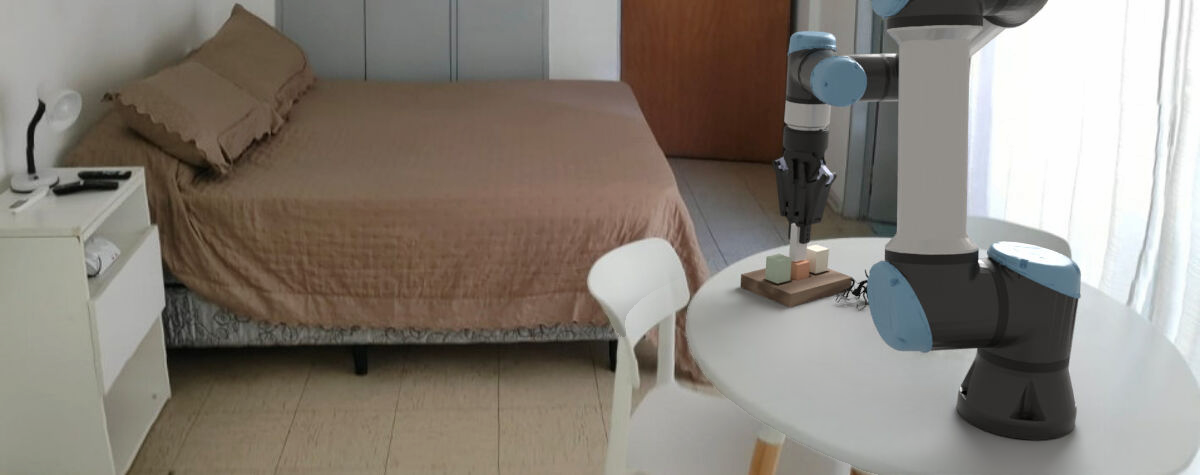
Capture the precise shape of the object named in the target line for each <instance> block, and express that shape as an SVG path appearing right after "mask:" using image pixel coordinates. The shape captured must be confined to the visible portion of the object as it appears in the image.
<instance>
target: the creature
mask: <svg viewBox="0 0 1200 475" xmlns="http://www.w3.org/2000/svg"><path fill="white" fill-rule="evenodd" d="M864 273H865V276H866V278H867V279H864V280H862V281H859V282H856V280H855V278H853V276H850V277H851V278H852V279H850V280H851V281H852V285H851V286H850V287H849V288H847V289H845V290H843V291H844V292H843V294H842V293H840V292H839V293H838V294H836V299H834V300H835V302H837V303H839V302H840V301H841V299H843V300H844V299H845V300H848V301H850V300H851V298H848V297H849V294H850V293H851V295H852V296H854V298H855V299H860V298H861V294H862V297H863V300H864V302H865V304H864V305H863V306H862V308H860V309H859V311H861V310H863V309H865V308H866V307H867V306H869V303H868V295H867V285H865V284H867V280H868V276H869V275H868V273H867V269H864ZM855 283H856V284H857V285H858V286H857V287H855V286H856V285H855ZM853 287H854V289H853ZM862 288H863V290H862ZM841 292H842V291H841ZM840 296H841V297H840ZM839 297H840V298H839ZM838 299H839V300H838ZM837 300H838V301H837ZM856 308H859V304H856Z"/></svg>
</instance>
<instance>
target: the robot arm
mask: <svg viewBox="0 0 1200 475" xmlns="http://www.w3.org/2000/svg"><path fill="white" fill-rule="evenodd" d="M870 1H871V8H872V10H873V12H874V13H875V14H876V15H877V16H879V17H881V18H883V19H886V33H887V34H888V35H889V36H890V37H891V38H892V39H893V40H894V42H896V43H897V46H898V53H897V52H894V53H892V52H889V53H888V52H887V53H886V52H884V53H882V52H881V53H838V52H837V39H836V36H835V35H834V34H832V33H830V32H825V31H816V30H815V31H812V30H808V31H807V30H803V31H797V32H794V33H793V34H791V36H790V38H789V46H788V52H787V74H786V75H787V76H786V90H785V91H786V92H785V93H786V94H785V105H784V106H785V108H784V120H783V122H784V123H785V124H786V125H785V126H784V127H783V135H782V138H783V139H782V146H783V147H784V149H785V150H784V152H783V156H782V157H780V158H777V159H773V160H772V162H771V164H772V167H773V170H774V172H775V178H776V187H777V188H776V189H777V198H778V199H777V200H778V206H779V214H780V216H781V217H784V218H786V219H787V221H788V232H787V239H788V240H790V241H789V251H788V252H789V254H788V257H790V258H792V260H791V261H793V262H798V261H801V260H805V259H806V254H807V247H808V244H809V243H810V241H811V231H812V226H813V225H815V224H820V223H821V222H822V219H823V216H824V212H825V209H826V206H827V202H828V198H829V194H830V191H831V188H832V185H833V183H834V182H835V180H836V179H837V176H838V175H837V173H836V172H835V171H832V172H831V171H830V170H829V168H828V166H827V165H826V164H827V161H826V160H827V159H826V155H825V154H826V151H827V150H828V148H829V142H830V141H829V138H830V129H829V127H827V126H829V125H830V123H831V122H830V121H831V111H832V109H831V108H832V107H836V108H845V107H846V108H847V107H850V106H852V105H854V104H856V103H871V102H875V103H876V102H898V107H897V108H898V111H897V112H898V113H897V116H898V117H897V120H898V121H897V124H898V125H897V187H896V188H897V199H896V200H897V201H896V202H897V203H896V207H897V208H896V209H897V210H896V219H897V220H896V233H895V235H894V236H893V237H892V238H891V239H890V240H889V241H888V242H887V243H885V245H884V260H879V261H878V262H875V263H874V264H872V266H871V267H870V269H869V272H868V273H869V275H868V278H867V279H866V280H867V283H866V286H867V294H866V296H867V295H868V299H867V304H868V303H869V305H868V307H869V311H870V316H871V318H872V321H873V325H874V326H875V328H876V331H877V333H878V335H879V336H880V338H881V339H882V341H883V342H884V343H885V344H886V345H887V346H889V348H891V349H893V350H895V351H897V352H898V351H899V352H921V353H923V354H925V353H927V354H928V353H930V352H934V351H937V352H938V351H951V350H953V351H954V350H971V349H974V350H975V349H976V354H975V356H974V359H973V361H972V363H971V365H970V366H969V368H968V371H967V372H966V374H965V376H964V379H963V380H962V382H961V384H960V387H959V389H958V393H957V400H956V410H957V412H958V414H959V415H960V416H961V417H962V418H963V419H964V420H965V421H966V422H968V423H969V424H971V425H973V426H975V427H977V428H979V429H981V430H983V431H986V432H989V433H992V434H996V435H999V436H1003V437H1008V438H1014V439H1020V440H1021V439H1023V440H1032V441H1033V440H1035V441H1036V440H1037V441H1038V440H1050V439H1051V440H1052V439H1056V438H1060V437H1063V436H1065V435H1067V434H1069V433H1071V432H1072V431H1073V430H1074V428H1075V426H1076V419H1077V412H1078V410H1077V408H1078V406H1077V402H1076V400H1075V395H1074V389H1073V383H1072V380H1071V374H1070V371H1069V370H1070V368H1069V367H1070V360H1071V359H1070V358H1071V354H1072V353H1071V352H1072V347H1073V346H1072V345H1073V339H1074V333H1075V326H1076V321H1077V320H1076V318H1077V313H1078V305H1079V300H1080V299H1081V297H1082V295H1081V280H1082V273H1081V269H1080V267H1079V265H1078V263H1076V261H1074V260H1073V259H1072V258H1070V257H1068V256H1066V255H1065V254H1062V253H1060V252H1057V251H1055V250H1052V249H1050V248H1045V247H1042V246H1039V245H1035V244H1030V243H1029V244H1028V243H1024V242H1016V241H997V242H994V243H992V244H990V245H989V248H988V250H987V251H986V255H987V257H982V258H980V256H979V255H980V254H979V252H980V250H979V249H980V247H979V246H978V244H976V243H975V242H974V240H972V238H970V236H969V234H968V233H967V230H968V229H967V227H968V226H967V225H968V224H967V221H968V176H969V175H968V174H969V172H968V170H969V163H968V162H969V119H970V118H969V115H970V114H969V113H970V112H969V111H970V110H969V108H970V104H969V103H970V60H971V59H970V58H972V57H973V56H974V55H975V54H976V53H978V52H979V51H980V50H981V49H983V48H984V47H985V46H986V45H988V44H989V43H990V42H992V41H993V39H996V38H997V37H998V36H999V35H1000V34H1001V33H1003V32H1004V31H1005V30H1006V29H1015V28H1018V27H1020V26H1023V25H1025V24H1026V23H1028V21H1030V20H1031V19H1032V18H1033V17H1035V16H1036V15H1037V14H1038V13H1039V12H1041V11H1042V10H1043V9H1044V7H1045V6H1046V4H1047V3H1048V1H1049V0H870Z"/></svg>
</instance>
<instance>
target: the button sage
mask: <svg viewBox="0 0 1200 475" xmlns="http://www.w3.org/2000/svg"><path fill="white" fill-rule="evenodd" d="M765 260H766V261H765V263H766V264H765V268H766V273H765V279H767V280H769V281H772V282H775V283H777V284H778V283H782V282H786V281H790V275H791V260H792V258H790V257H789V256H787V255H784V254H781V253H776V254H771V255H767V256H766V258H765Z"/></svg>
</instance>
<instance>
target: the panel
mask: <svg viewBox="0 0 1200 475" xmlns="http://www.w3.org/2000/svg"><path fill="white" fill-rule="evenodd" d="M765 273H766V267H765V268H760V269H757V270H753V271H752V270H751V271H748V272H745V273H741V274H740V288H741V289H743V290H745V291H749V292H751V293H752V294H753V293H754V294H755V295H758V296H761V297H762V298H766V299H768V300H771V301H773V302H775V303H778V304H781V305H783V306H784V307H785V306H786V307H788V308H793V307H797V306H800V305H803V304H807V303H811V302H814V301H818V300H821V299H825V298H828V297H831V296H835V295H836V296H837V294H838V293H839V292H840V293H839V294H842V293H844V291H843V290H845V289H847V288H849V287H850V286H851V285H852V283H853V281H851V280H850V279H852V278H853V277H852V276H850V275H847V274H844V273H841V272H839V271H836V270H833V269H831V268H828V269H827V271H824V272H820V273H816V274H815V273H812V272H809V278H805V279H802V280H798V281H796V280H793V279H791V278H790V281H786V282H782V283H778V284H777V283H775V282H772V281H769V280H767V279H765ZM851 277H852V278H851ZM841 291H842V292H841ZM839 294H838V295H839Z"/></svg>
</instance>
